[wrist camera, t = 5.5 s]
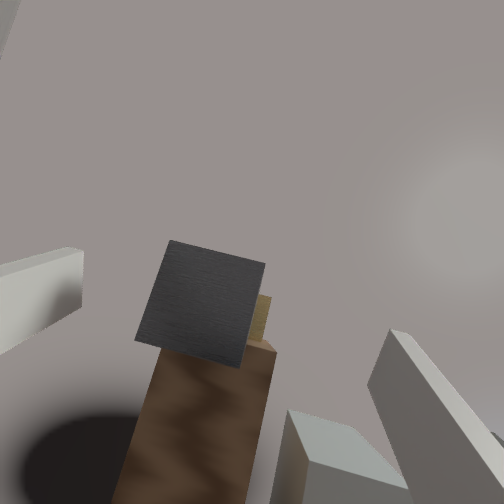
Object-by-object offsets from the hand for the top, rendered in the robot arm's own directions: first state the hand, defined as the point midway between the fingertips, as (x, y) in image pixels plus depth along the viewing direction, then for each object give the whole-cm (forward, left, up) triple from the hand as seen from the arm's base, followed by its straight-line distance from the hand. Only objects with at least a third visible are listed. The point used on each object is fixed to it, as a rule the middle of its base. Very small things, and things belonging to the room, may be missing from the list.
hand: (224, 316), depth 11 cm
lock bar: (-1, +12, -2) cm, 12 cm away
